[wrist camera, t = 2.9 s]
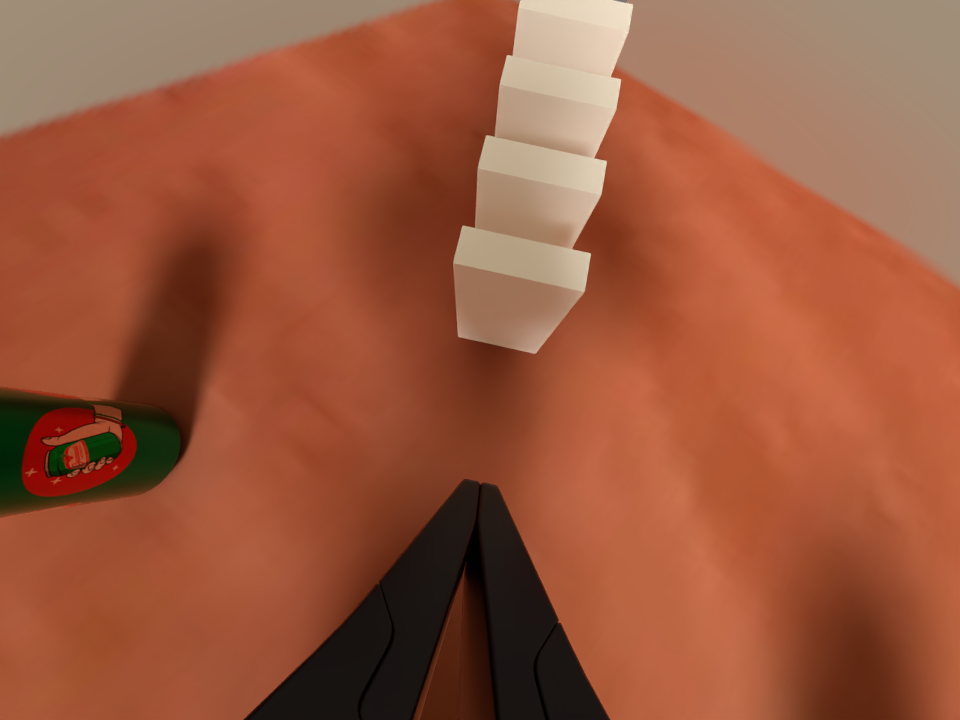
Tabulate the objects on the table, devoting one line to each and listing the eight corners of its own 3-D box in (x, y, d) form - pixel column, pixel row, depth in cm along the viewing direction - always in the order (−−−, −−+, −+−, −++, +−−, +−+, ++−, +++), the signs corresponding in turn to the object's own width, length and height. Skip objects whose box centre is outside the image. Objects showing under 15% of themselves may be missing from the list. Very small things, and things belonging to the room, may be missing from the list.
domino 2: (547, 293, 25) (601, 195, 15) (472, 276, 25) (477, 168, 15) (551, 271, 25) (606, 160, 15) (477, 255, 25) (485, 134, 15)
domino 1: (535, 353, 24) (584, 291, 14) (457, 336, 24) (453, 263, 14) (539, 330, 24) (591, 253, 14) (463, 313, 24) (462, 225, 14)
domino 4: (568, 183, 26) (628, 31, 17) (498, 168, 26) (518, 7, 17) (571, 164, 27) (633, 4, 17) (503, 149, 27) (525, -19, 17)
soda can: (75, 460, 21) (-401, 482, 10) (143, 388, 22) (-214, 327, 11) (141, 514, 21) (-276, 607, 9) (206, 438, 22) (-93, 433, 10)
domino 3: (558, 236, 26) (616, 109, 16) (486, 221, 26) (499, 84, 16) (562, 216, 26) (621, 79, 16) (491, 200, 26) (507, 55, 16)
